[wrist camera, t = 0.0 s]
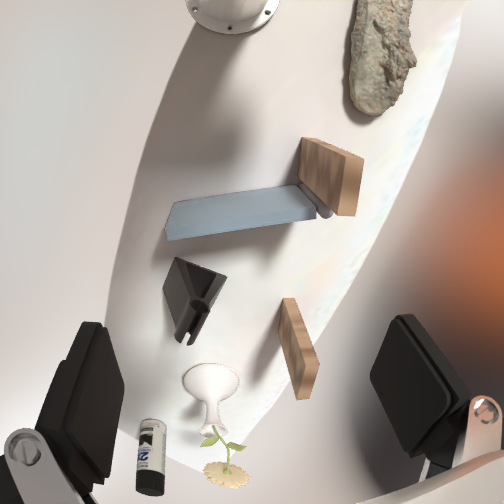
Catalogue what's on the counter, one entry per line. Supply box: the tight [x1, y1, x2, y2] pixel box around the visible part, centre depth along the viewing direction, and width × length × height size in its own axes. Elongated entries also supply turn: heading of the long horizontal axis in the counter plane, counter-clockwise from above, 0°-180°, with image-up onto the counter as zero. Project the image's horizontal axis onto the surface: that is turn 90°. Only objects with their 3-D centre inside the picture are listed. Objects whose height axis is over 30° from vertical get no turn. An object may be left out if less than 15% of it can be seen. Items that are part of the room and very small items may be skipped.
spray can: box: [136, 419, 166, 496], centre depth 60 cm, size 7×7×20 cm
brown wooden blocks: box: [278, 137, 364, 400], centre depth 43 cm, size 35×2×16 cm, turn 176°
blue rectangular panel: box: [165, 183, 333, 241], centre depth 40 cm, size 20×2×10 cm, turn 96°
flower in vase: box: [184, 363, 249, 488], centre depth 51 cm, size 13×11×25 cm
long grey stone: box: [349, 0, 417, 116], centre depth 32 cm, size 35×5×10 cm
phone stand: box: [163, 257, 227, 345], centre depth 45 cm, size 9×6×12 cm, turn 63°
